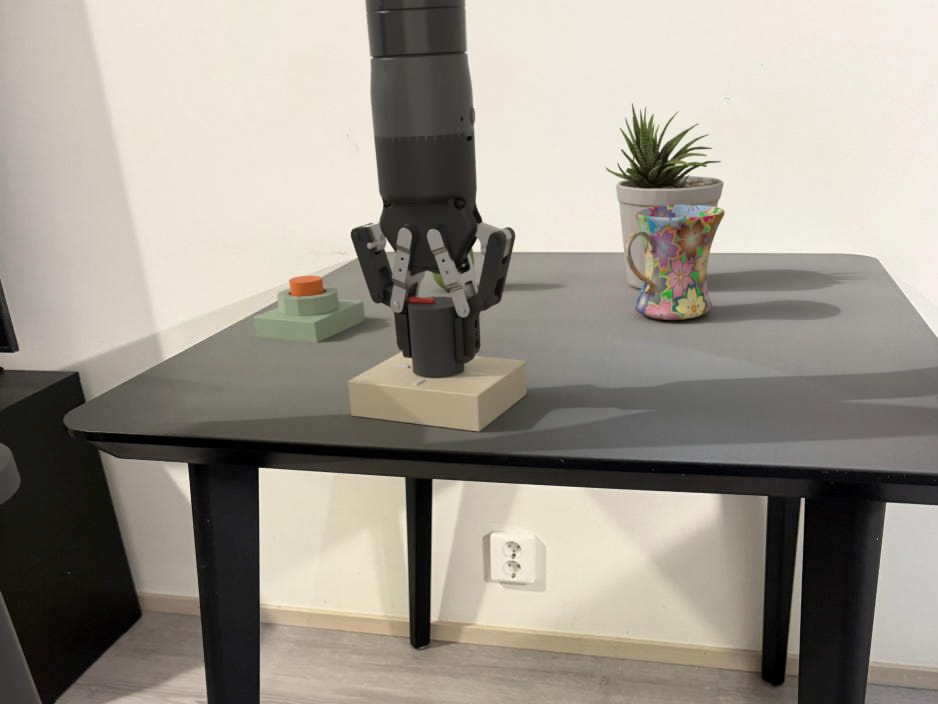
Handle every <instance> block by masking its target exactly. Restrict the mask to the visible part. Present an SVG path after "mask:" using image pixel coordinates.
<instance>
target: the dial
mask: <svg viewBox="0 0 938 704" xmlns="http://www.w3.org/2000/svg"><path fill="white" fill-rule="evenodd" d="M408 314H409V327H410V340H411V353H412V366H413V372H414V374H416V375H418V376H422V377H431V378H438V377H448V376H453V375H456V374H459V373H461V372H463V371H464V369H465V365H464V363H458V362H457V357H456V340H455V323H454V318H455V317H457V316H458V314H457V312H456V310H455V306H454V303H453V300H452V297H451V296H428V297H419V296H418V297H411V298H409V303H408Z"/></svg>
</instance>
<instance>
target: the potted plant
mask: <svg viewBox="0 0 938 704" xmlns="http://www.w3.org/2000/svg"><path fill="white" fill-rule="evenodd" d="M631 111H632V126H633V127H632V128H633V131H632V129H631V127H630V125H629V122H628V119H627V117H624V119H625V125H626V127H627V130H628V133H629V136H630V138H629V137H628V135H627V134H626V132H625V131H624V130H623V129H622V128H621V127H619V130H620V132H621V133H622V136H623V138H624V140H625V143H626V145H627V147H628V150H629V151H630V152H629V153H631V155H632V157H630V155H628V153H626V151H625V150H624V149H620V151H621V153H622V155H624V157H625V158H626V159H627V160H628V161H629V165H630V167H627V168H626V170H625V171H624V170H623V169H622V167H621V166H620V164H619V162H617V163H616V164H617V167H618V169H619V171H620V173H619V172H616V171H613V170H611V169H610V168H608V167H606V166H604V168H605V169H606V171H607V172H609V173H610V174H612V175H614V176H615V177H618V178H620V179H623V180H621V181H619V182H617V184H616V185H615V189H616V197H617V202H618V204H619V205H618V207H619V215H620V216H619V217H620V224H621V225H620V226H621V234H622V243H623V254H624V263H625V273H626V279H627V283H628V284H629V285H630V286H631V287H633V288H635V289H639V290H641V288H642V283H643V281H642V280H640V279H639V278H638V277H637V276H635V274H634V273H633V272H632V270H631V269H630V267H629V265H628V263H627V260H626V256H625V244H626V241H627V239H628V238H629V236H630V235H631V234H632V233H634V232H637V231H640V228H639V225H638V222H637V219H636V217H635V213H636V211H637V210H640V209H643V208H647V207H654V206H664V205H704V206H712V207H718V205H719V201H720V199H721V197H722V193H723V187H724V184H725V183H724V181H722V179H719V178H716V177H708V176H696V175H690V174H689V173H690V172H692V171H693V170H695V169H697V168H700V167H703V168H707V167H708V164H716V163H722V161H721V160H706V161H704V162H703V161H702V162H699V161H690V162H687V161H685V160H683V159H685V158H688V157H707V156H708V155H707V154H704V153H699V152H692V151H696V150H697V151H698V150H713V147H709V146H702V145H701V146H694V147H690V146H692V145H694V143H696V142H697V141H700V140H701V139H703V138H705V137H708V136H710V134H708V133H707V134H704V135H700V136H698V137H696V138H694V139H692V140H690V141H689V142H688V143H686V144H684V146H682V147H681V148H680V149H679V150H678V151H677V152H676V153H675V154H674V155H673V156H672V157H671V158H670V156H671V154H672V153H673V152H674V150H675V148H676V147H677V146H678V145H679V144H680V142H681V140H683V138H684V137H685V136H686V135H687V134H688V133H689V131H691V130H693V129H694V128H695V127H696V126H698V125H700V123H695V124H694V125H692V126H690V127H689V128H687V129H684V130H683V131H681V132H680V133H678V134H677V135H676V136H674V137H672V138H671V139H669V140H668V141H667V142H665V144H664V145H663V146H662V147H661V144H662V140H663V138H664V135H665V133H666V131H667V129H668V127H669V125H670V123H671V122H672V121H673V119H674V118H675V117H676V116H677V114H678V113H680V112H679V110H678V111H676V113H674V115H673V116H672V117H671V118H670V119H668V121H667V122H666V124H665V126H664V127H663V129H662V131H661V133H660V135H659V138H658V132H659V128H660V124H657V127H656V129H655V123H654V116H655V115H654V113H652V115H651V116H650V118H649V121H648V123H647V121H646V120H647V106H644V112H643V113H644V115H643V114H642V109H639V117H640V118H639V120H638V117H637V114H636V111H635V107H634V104H633V102H631ZM639 122H640V123H639ZM660 147H661V149H660ZM669 158H670V159H669ZM635 161H636V162H635ZM688 174H689V175H688ZM631 256H632V260H633V263H634V265H635V267H636V268H637V270H638V271H639V272H640V273H641V274H642V275H643V276H644V268H645V257H644V247H643V241H642V236H641V235H640V236H637V237H636V238H635V239H634V240H633V242H632V245H631Z"/></svg>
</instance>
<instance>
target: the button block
mask: <svg viewBox="0 0 938 704" xmlns="http://www.w3.org/2000/svg"><path fill="white" fill-rule="evenodd" d="M323 290H324V293H322V294H319V295H313V296H291V292H290V287H289V288H285V289H283V290H280V291H278V292H277V294H276V298H277V306H278V307H276V308H273V309H270V310H268V311H265V312H263V313H261V314H258V315H255V316H253V317H252V318H253V324H254V330H255V335H256V338H261V339H263V338H264V339H273V340H284V341H295V342H306V343H320V342H322V341H324V340H326V339H328V338H330V337H332V336H335V335H337V334H339V333H341V332H343V331H345V330H347V329H350V328H352V327H354V326H356V325H358V324H361V323H363V322H364V321H366V314H365V306H364V305H365V304H364V301H363V300H355V299H353V300H352V299H340V298H339V294H338V289H337V288H336V287H333V286H329V285H323Z"/></svg>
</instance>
